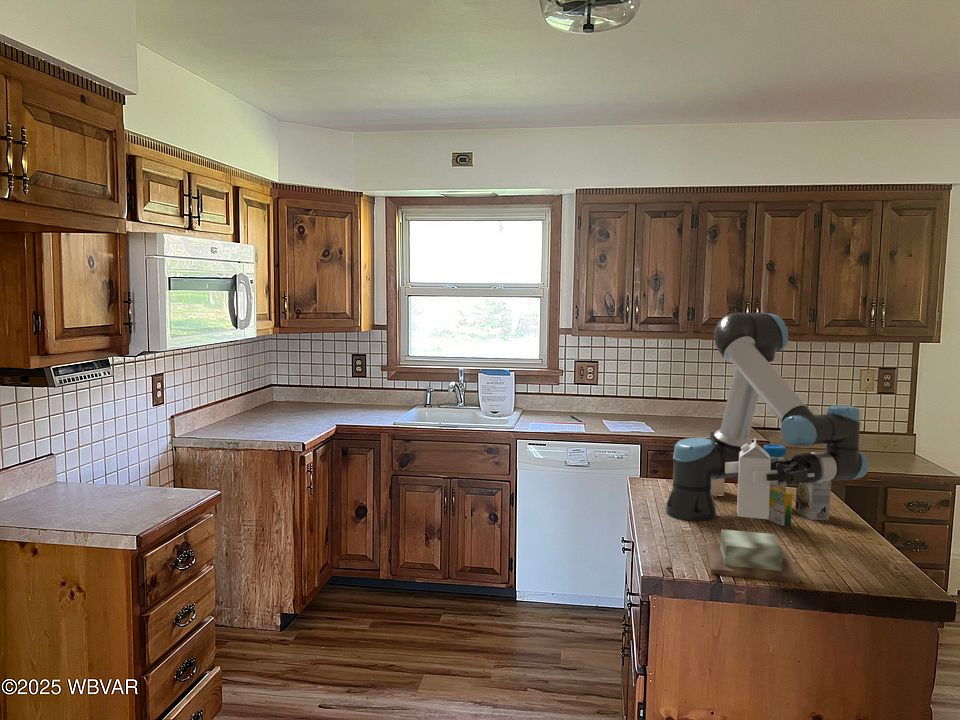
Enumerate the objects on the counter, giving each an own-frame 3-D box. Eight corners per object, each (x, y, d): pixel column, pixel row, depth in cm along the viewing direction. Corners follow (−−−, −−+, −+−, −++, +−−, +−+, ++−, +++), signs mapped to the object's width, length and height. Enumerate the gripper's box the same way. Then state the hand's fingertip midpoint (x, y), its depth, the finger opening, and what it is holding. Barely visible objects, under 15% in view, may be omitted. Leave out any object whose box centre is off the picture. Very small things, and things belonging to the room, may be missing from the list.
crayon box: (791, 525, 206) (793, 487, 206) (783, 526, 205) (785, 488, 205) (773, 518, 213) (775, 481, 212) (765, 519, 212) (767, 482, 211)
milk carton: (766, 512, 176) (769, 438, 174) (768, 520, 169) (771, 443, 168) (736, 509, 178) (739, 436, 177) (737, 517, 171) (740, 441, 170)
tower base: (710, 573, 167) (711, 548, 167) (705, 546, 187) (706, 524, 186) (800, 583, 162) (801, 557, 162) (785, 554, 182) (786, 531, 181)
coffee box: (794, 511, 221) (796, 462, 220) (813, 511, 222) (816, 461, 221) (810, 520, 212) (812, 468, 211) (830, 520, 213) (832, 468, 212)
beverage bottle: (761, 501, 233) (764, 442, 232) (788, 505, 228) (791, 445, 227) (755, 506, 226) (757, 446, 225) (782, 511, 221) (785, 449, 220)
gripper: (846, 492, 168) (770, 499, 161) (780, 472, 189) (710, 477, 182) (847, 462, 167) (772, 467, 160) (781, 445, 188) (712, 448, 182)
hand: (739, 472), depth 171 cm, fingers closed on milk carton, 10 cm apart
